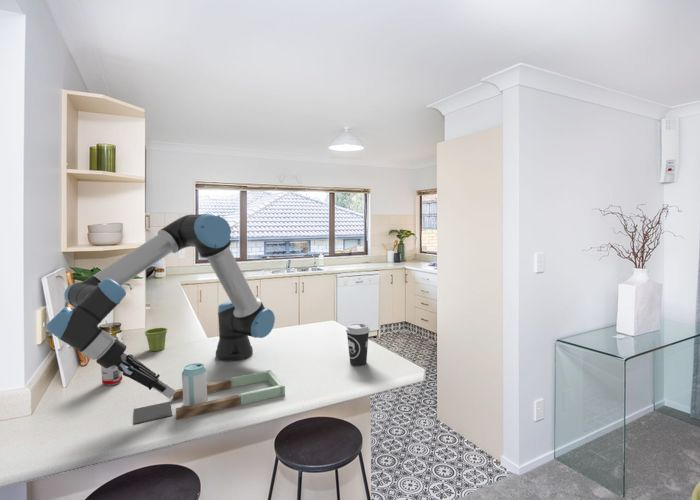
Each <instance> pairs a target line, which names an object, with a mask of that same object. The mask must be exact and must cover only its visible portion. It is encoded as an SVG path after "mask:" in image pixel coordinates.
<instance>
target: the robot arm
mask: <svg viewBox="0 0 700 500" xmlns="http://www.w3.org/2000/svg"><path fill="white" fill-rule="evenodd" d="M231 234H232V229H231V226H230V224H229V222H228V221H227V220H226V218H224V217H223V216H221V215H219V214H215V213H214V214H213V213H203V214H202V213H201V214H199V213H198V214H186V215H183V216H181V217H179V218H177V219H176V220H174V221H172V222H171V223H168V224H167V225H166V226H164V227H163V228H161V229H160V230H158V231H157V235H155V236H154V237H152V238H150V239H149V240H147V241H145V242H144V243H143V244H141V245H139V246H138V247H136V248H135V249H133V250H131V251H130V252H129V253H126V254H125V255H123V256H122V257H120V258H118V259H117V260H115V261H114V262H112V263H111V264H108V266H106V267H104V268H103V269H101V270H99V271H98V272H96V273H95V274H93V275H91V276H89V277H88V278H86V279H85V280H83V281H79V282H75V283H74V282H73V283H72V284H69V285H68V286H67V287H66V289H65V291H64V295H63V296H64V300H65V302H66V303H67V304H68V305H70V306H72V307H70V306H65V307H63V308H62V309H61V310H60V311H59V312H58V313H56V315H55V316H54V317H53V318H52V319H51V320H49V322H48V323H47V324H46V326H45V327H46V330H47V332H49V333H51V335H52V336H53V335H54V337H56V338H57V339H58V340H61V341H62V342H64V343H65V344H67V345H68V346H69V347H72V348H73V349H75V350H77V351H78V352H80V353H82V354H83V355H82V356H83V357H84V358H86V357H88V358H89V359H91V360H92V361H96V363H97V364H98V365H100V367H101V366H103V367H104V368H109V367H111V366H112V365H116V366H117V367H118V370H120V371H121V372H122V376H123V377H127V378H129V379H131V380H133V381H134V382H137V383H138V384H140V385H142V386H144V387H146V388H148V390H149V391H150V390H152V388H153V389H154V391H157V392H158V393H160V394H161V395H163V396H165V397H166V398H168V399H169V400H171V399H172V398H173V395H174V394H175V393H176V392H177V391H176V390H177V389H176V388H174V387H173V386H171V385H170V384H169V383H167V382H166V381H164V380H163V379H161V378H160V376H161V375H160V374H159V373H157V374H156V372H154V371H153V370H151V369H150V368H149V367H147V366H146V365H145V364H144V363H142V362H141V361H140V360H138V359H137V358H136V357H135V356H134V355H133V354H132V353H131V354H127V353H125V352H126V350H127V345H126V344H124V343H123V342H121V340H119V339H118V340H114V337H115V336H113V335H111V334H110V333H109V332H108V331H106V330H103V329H102V328H101V327H99V325H100V324H101V323H102V321H103V320H104V319H105V318H106V317H108V315H109V314H110V313H111V312H112V311H113V310H114V309H115V308H116V307H117V306H118V305H119V304H120V303H121V301H122V300H123V299H124V298H125V297H126V295H127V291H126V290H125V288H124V287H123V286H124V285H125V284H127V283H128V282H130V281H131V280H132V279H134V278H135V277H137V276H138V275H140V274H141V273H143V272H144V271H146V270H147V269H149V268H150V267H152V266H153V265H154V264H156V263H158V262H159V261H161V260H162V259H164V258H165V257H167V256H168V255H170V254H171V253H173V254H176V253H178V252H179V251H182V250H183V249H185V248H188V247H189V248H190V247H195V248H196V250H197V252H198V254H199V255H200V257H201V258H202V259H206V260H207V261H208V263H209V264H210V266H211V268H212V270H213V272H214V273H215V275H216V278H217V279H218V281H219V283H220V285H221V286H222V288H223V289H224V292H225V294H227V295H226V296H228V299H229V300H230V301H227V302H223V303H221V304H219V306H218V308H217V317H218V334H219V337H218V338H219V340H218V343H217V346H216V350H215V359H216V360H218V361H221V362H235V361H236V362H237V361H242V360H245V359H248V358H251V356H252V355H253V352H254V349H253V348H254V347H252V345H251V342H250V339H249V337H253V338H255V339H257V338H258V339H263V338H265V337H267V336H269V335H270V333H271V332H272V330H273V328H274V326H275V321H276V316H275V313H274V312H273V310H272V309H270V308H266V307H265V305H264V303H263V302H262V300H261V299H260V298H258V297H255V295H254V292H253V291H252V289H251V287H250V285H249V283H248V281H247V280H246V277H245V275H244V273H243V271H242V270H241V268H240V266H239V264H238V262H237V260H236V258H235V256H234V255H233V252H232V251H231V245H232V241H231V237H232V236H231Z"/></svg>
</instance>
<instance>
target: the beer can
mask: <svg viewBox="0 0 700 500" xmlns="http://www.w3.org/2000/svg"><path fill="white" fill-rule="evenodd" d="M113 337H114V340H119V337H118V336H113ZM100 367H101V368H100V371H101V382H102V383H101V384H103V385H104V386H108V387H110V386H115V385H117V384H120V383H121V381H123V374H122V373H123V372H121V371H120V370H118V367H117V366H116V365H112V366H111V367H109V368H104V367H103V366H101V365H100Z"/></svg>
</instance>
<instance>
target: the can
mask: <svg viewBox="0 0 700 500" xmlns="http://www.w3.org/2000/svg"><path fill="white" fill-rule="evenodd" d="M207 379H208V378H207V369H206V368H205V365H204V364H203V363H201V362H200V363H199V362H195V363H190V364H186V365H185V366H184V367H183V370H182V372H181V383H182V387H181V388H183V398H182V402H183V403H182V404H183V405H184V406H189V405H194V404H198V403H203V402H208V393H207V384H208V382H207V381H208V380H207ZM184 406H183V407H184Z"/></svg>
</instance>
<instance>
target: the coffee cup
mask: <svg viewBox="0 0 700 500" xmlns="http://www.w3.org/2000/svg"><path fill="white" fill-rule="evenodd" d="M370 332H371V330H370V327H369V326H368V324H366V323H361V322H360V323H359V322H358V323H357V322H356V323H350V324H348V325H347V327H346V329H345V333H346V337H347V346H348V354H349V355H348V356H349V357H348V358H349V364H350V365H352V366H355V367H361V366H365V365H367V361H368V360H367V359H368V347H369V336H370V335H369V333H370Z"/></svg>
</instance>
